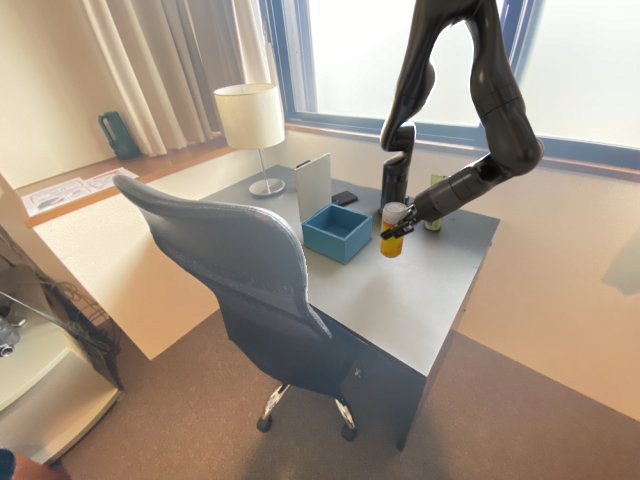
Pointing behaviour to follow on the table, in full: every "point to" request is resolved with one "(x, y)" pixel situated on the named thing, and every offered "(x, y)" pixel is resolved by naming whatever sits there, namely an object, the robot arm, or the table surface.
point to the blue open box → (337, 232)
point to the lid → (313, 186)
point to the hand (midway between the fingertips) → (386, 230)
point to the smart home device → (343, 198)
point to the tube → (436, 224)
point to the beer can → (389, 218)
